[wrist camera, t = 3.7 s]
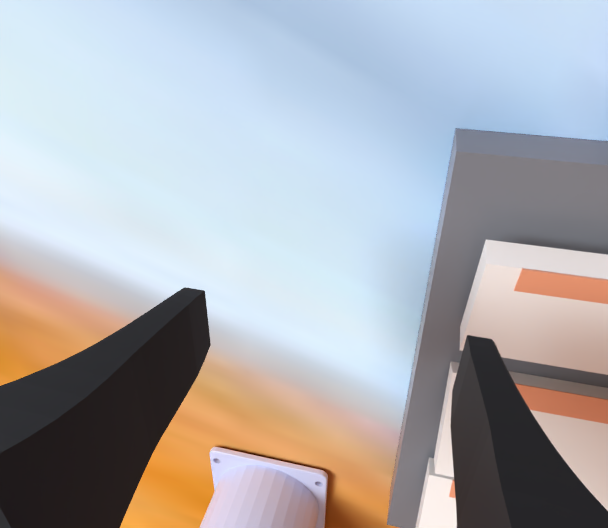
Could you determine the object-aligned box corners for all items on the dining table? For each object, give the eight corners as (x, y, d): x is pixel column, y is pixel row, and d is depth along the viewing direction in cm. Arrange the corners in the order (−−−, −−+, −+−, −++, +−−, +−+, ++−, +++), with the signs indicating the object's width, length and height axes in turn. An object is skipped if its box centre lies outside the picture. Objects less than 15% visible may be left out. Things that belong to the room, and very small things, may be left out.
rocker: (654, 503, 21) (668, 524, 20) (433, 457, 23) (434, 474, 22) (684, 401, 20) (701, 416, 19) (450, 361, 22) (452, 373, 21)
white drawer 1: (600, 571, 25) (609, 595, 24) (415, 527, 27) (414, 547, 26) (629, 498, 24) (639, 520, 22) (429, 457, 25) (429, 475, 24)
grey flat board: (596, 532, 30) (607, 576, 28) (390, 486, 32) (386, 524, 30) (978, -96, 13) (1074, -102, 11) (496, -98, 15) (503, -103, 13)
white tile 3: (713, 366, 19) (724, 395, 18) (460, 326, 21) (459, 351, 20) (797, 278, 15) (816, 309, 15) (485, 239, 17) (486, 265, 16)
